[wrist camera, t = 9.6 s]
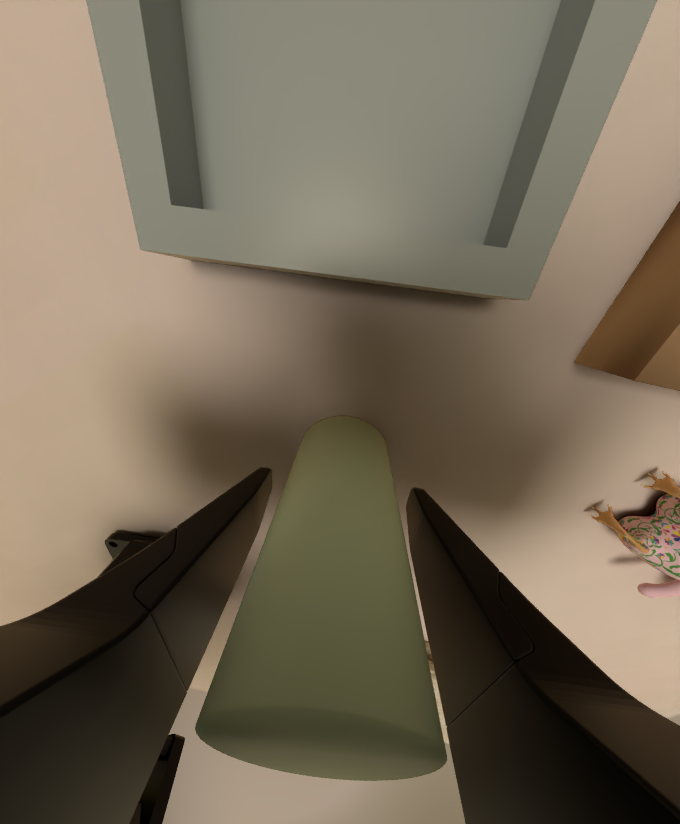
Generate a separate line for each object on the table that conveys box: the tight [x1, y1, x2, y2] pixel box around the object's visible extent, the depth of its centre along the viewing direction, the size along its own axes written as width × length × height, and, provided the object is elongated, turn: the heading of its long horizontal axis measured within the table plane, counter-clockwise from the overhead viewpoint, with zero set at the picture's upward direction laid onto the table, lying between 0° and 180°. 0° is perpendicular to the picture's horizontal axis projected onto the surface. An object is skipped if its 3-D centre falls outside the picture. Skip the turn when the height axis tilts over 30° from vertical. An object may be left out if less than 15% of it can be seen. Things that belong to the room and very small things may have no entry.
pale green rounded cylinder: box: [195, 416, 447, 781], centre depth 7 cm, size 4×4×8 cm
